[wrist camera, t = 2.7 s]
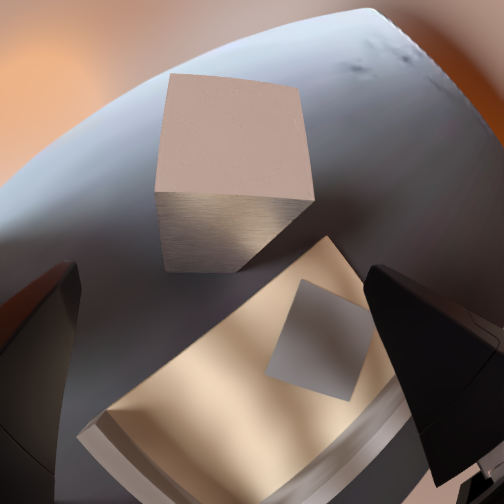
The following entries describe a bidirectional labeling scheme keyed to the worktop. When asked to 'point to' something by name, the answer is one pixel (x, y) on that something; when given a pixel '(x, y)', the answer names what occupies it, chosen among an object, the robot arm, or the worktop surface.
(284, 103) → the aluminium post
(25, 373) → the robot arm
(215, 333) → the corner arena
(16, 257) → the worktop surface
